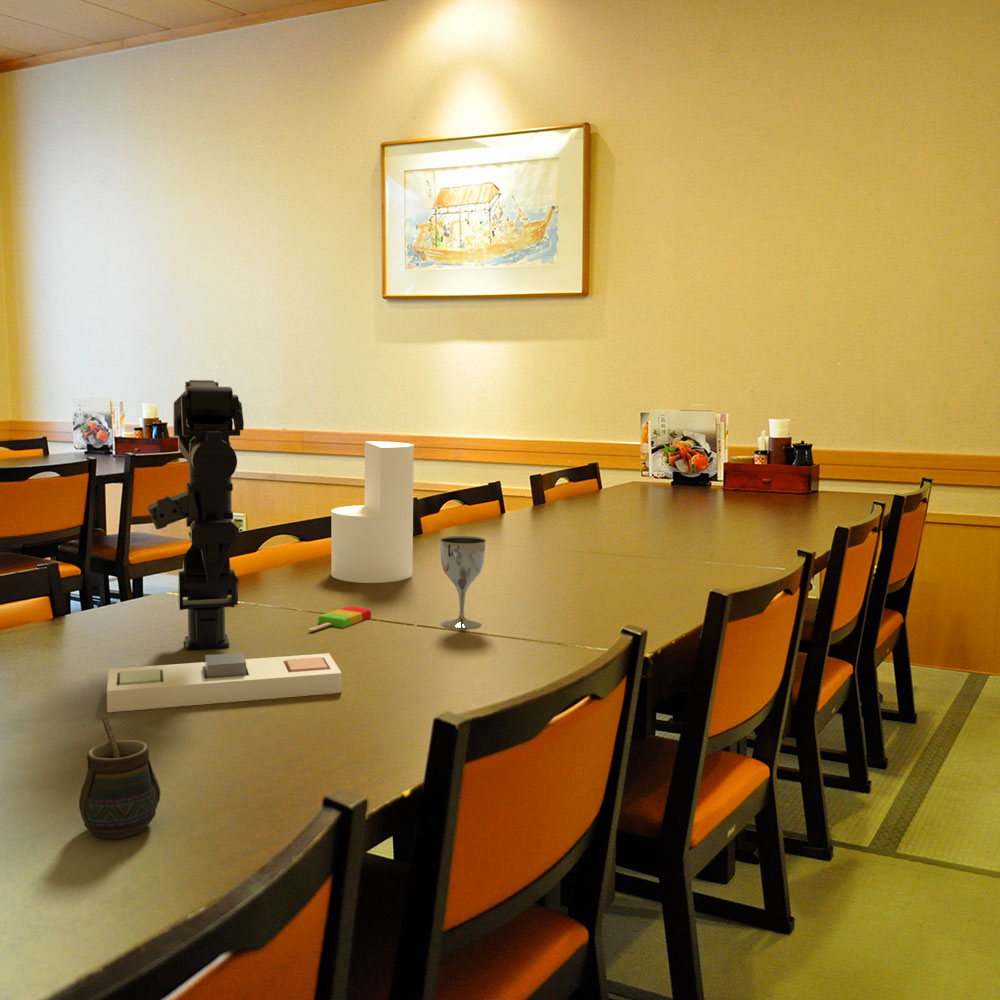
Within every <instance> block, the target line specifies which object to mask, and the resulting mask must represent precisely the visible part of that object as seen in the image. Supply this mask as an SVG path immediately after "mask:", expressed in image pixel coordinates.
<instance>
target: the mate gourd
mask: <svg viewBox="0 0 1000 1000" xmlns="http://www.w3.org/2000/svg"><path fill="white" fill-rule="evenodd" d="M100 720H101V722H102V723H103V728H104V731H105V733H106V736H107V739H108V741H107V742H103V743H101V744H97V745H96V746H93V747H91V748H90V749H89V750H88V752H87V753H86V761H87V765H86V766H87V771H86V772H87V773H86V776H85V780H84V783H83V786H82V788H81V791H80V796H79V800H78V805H79V806H78V807H79V812H80V817H81V818H82V821H83V824H84V827H85V829H87V830H88V832H90V834H92V835H93V836H95V837H96V838H98V837H99V838H103V839H109V840H111V839H113V840H114V839H115V840H117V839H124V838H128V837H132V836H135V835H137V834H139V833H141V832H142V831H143V830H144V829H145V828H146V827H147V826H148V825H149V824H150V823H151V822H153V821H152V820H153V819H154V817H155V816H156V813H157V812H156V810H157V808H158V804H159V802H160V801H161V788H160V785H159V781H158V779H157V777H156V774H155V773H154V770H153V768H152V764H151V762H150V753H149V752H150V750H149V749H150V747H149V745H148V744H147V743H145V742H143V741H140V740H135V739H133V740H132V739H120V740H119V739H118V740H116V739H115V736H114V734H113V730H112V726H111V725H110V722H109V719H108V717H105V718H100Z"/></svg>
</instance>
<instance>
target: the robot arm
mask: <svg viewBox="0 0 1000 1000" xmlns="http://www.w3.org/2000/svg"><path fill="white" fill-rule="evenodd" d="M184 386H185V387H184V391H183V392H182V393H181V394H180V396H178V397H177V398H176V399H175V400H174V402H173V417H172V419H173V437H177V439H178V440H177V441H178V451H179V452H180V453H181V454H182V456H183V457H184V459H186V461H187V463H188V472H189V473H188V474H189V476H188V477H189V480H188V482H187V483H186V491H183V492H181V493H178V494H175V495H172V496H169V495H165V497H163V498H157V500H156V502H152V503H151V504H148V505H147V510H148V514H149V515H150V518H151V520H152V522H153V525H154V528H155V529H156V530H161V529H164V528H167V526H168V525H171V524H174V523H176V522H179V521H181V520H183V519H184V520H185V524H186V527H188V528H189V527H190V531H189V532H188V536H189V539H190V542H191V545H190V546H189V548H188V549H187V551H186V553H184V554H185V555H184V556H183V560H182V561H183V562H182V571H178V581H177V582H178V591H177V595H178V598H177V599H178V608H179V611H183V610H187V636H184V641H185V649H187V650H196V649H197V650H198V649H199V650H200V649H211V648H212V649H213V648H214V649H215V648H228V647H230V640H229V638H228V634H226V608H235V606H237V605H239V584H240V582H239V581H240V580H239V577H238V576H237V575H236V572H235V569H234V568H231V563H230V561H231V560H230V555H229V554H230V551H231V548H232V547H233V546H232V545H233V544H236V543H239V542H240V528H239V526H238V524H236V523H235V521H233V520H234V512H233V510H232V507H233V506H232V505H233V504H232V502H233V501H232V492H233V490H234V489H233V488H234V485H233V484H234V483H233V482H232V476H233V474H234V473H235V472H236V469H237V467H238V458H237V454H236V452H235V450H234V448H233V447H232V443H231V442H230V437H240V436H241V431H244V427H245V423H244V413H243V404H242V402H241V401H240V400H239V396H238V394H234V393H233V392H234V391H233V388H232V387H231V386H219V382H218V381H214V380H212V379H209V380H207V379H204V380H203V379H190V380H189V381H185V385H184ZM233 427H234V428H233ZM184 598H185V599H184ZM186 598H187V599H186Z"/></svg>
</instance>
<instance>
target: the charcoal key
mask: <svg viewBox="0 0 1000 1000" xmlns="http://www.w3.org/2000/svg"><path fill="white" fill-rule="evenodd" d="M204 657H205V658H204V662H205V670H206V677H207V679H209V678H222V677H235V676H246V661H245V659H246V658H245V656H244V653H243V652H232V653H220V654H219V653H217V654H205V655H204Z"/></svg>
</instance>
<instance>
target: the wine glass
mask: <svg viewBox="0 0 1000 1000" xmlns="http://www.w3.org/2000/svg"><path fill="white" fill-rule="evenodd" d="M486 546H487V539H485V538H483V537H479V536H469V535H451V536H444V537H441V538H439V556H440V562H441V567H442V569H443V572H444V574H445V575H446V577H447V578H448V579H449V580H450V581H451V583H452V584H453V585H454V586H455V589H456V591H457V594H458V595H457V596H458V601H459V603H458V604H459V614H458V615H459V616H458V617H457V618H453V619H447V620H443V621H442V622H441V623H440V624H441V626H442V627H443V628H447V629H449V630H450V629H452V630H472V629H473V630H474V629H477V628H480V627H482V625H483V623H482V622H481V621H478V620H475V619H470V618H466V617H465V601H466V595H467V591H468V589H469V588H470V587H471V585H472V584H473V583H474V582H475V581H476V579H477V578H478V577H479V576H480V574H481V573H482V571H483V568H484V564H485V559H486V550H487V549H486V548H487V547H486Z"/></svg>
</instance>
